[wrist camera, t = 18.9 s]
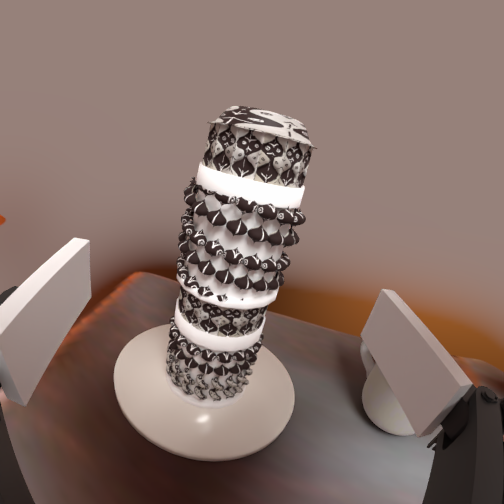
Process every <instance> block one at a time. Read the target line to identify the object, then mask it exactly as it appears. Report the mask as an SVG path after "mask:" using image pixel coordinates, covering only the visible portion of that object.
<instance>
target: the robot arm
mask: <svg viewBox="0 0 504 504" xmlns="http://www.w3.org/2000/svg"><path fill="white" fill-rule="evenodd" d="M90 298H91V284H90V241H89V240H85V239H79V238H73V239H72V240H71V241H70V242H69V243H67V244H66V245H65V246H64V247H63V248H61V249H60V250H59V251H58V252H57V253H56V254H54V255H53V256H52V257H51V258H50V259H49V260H48V261H47V262H46V263H44V264H43V265H42V266H41V267H40V268H39V269H38V270H37V271H35V272H34V274H32V275H31V276H30V277H29V278H28V279H27V280H26V281H25V282H24V283H23V284H22V285H21V286H20V287H16V286H14V287H12V288H10V289H8V290H6V291H4V292H3V293H2V294H1V295H0V388H1V387H2V389H3V391H4V393H5V395H6V397H7V398H8V399H10V400H12V401H14V402H16V403H18V404H21V405H23V406H25V407H26V405H27V403H28V401H29V399H30V397H31V395H32V393H33V391H34V390H35V388H36V386H37V384H38V382H39V380H40V378H41V377H42V375H43V373H44V371H45V370H46V368H47V366H48V364H49V363H50V361H51V359H52V357H53V356H54V354H55V352H56V351H57V349H58V347H59V346H60V344H61V342H62V341H63V339H64V338H65V336H66V334H67V333H68V331H69V330H70V328H71V327H72V325H73V323H74V322H75V320H76V319H77V317H78V316H79V314H80V313H81V311H82V310H83V308H84V307H85V305H86V304H87V302H88V301H89V299H90ZM360 336H361V337H362V339H363V341H364V342H365V344H366V346H367V347H368V349H369V351H370V353H371V354H372V356H373V358H374V359H375V361H376V363H377V365H378V366H379V368H380V370H381V371H382V373H383V375H384V377H385V378H386V380H387V382H388V384H389V386H390V387H391V389H392V391H393V393H394V395H395V396H396V398H397V400H398V402H399V404H400V405H401V407H402V409H403V411H404V413H405V415H406V416H407V418H408V420H409V422H410V424H411V426H412V428H413V430H414V432H415V433H416V435H417V437H421V436H425V435H429V434H431V433H432V432H433V431H434V430H435V429H436V428H437V427H438V426H439V425H440V424H441V425H442V427H443V429H442V430H441V431H440V433H439V434H438V435H437V436H436V437H435V438H434V439H433V440H432V441H431V442H430V443H429V444H428V446H427V448H430V447H431V446H432V445H433V444H434V443H437V444H436V445H435V446H434V447H433V448H432V450H435V455H434V460H433V465H432V469H431V473H430V478H429V482H428V486H427V489H426V493H425V497H424V500H423V503H422V504H504V442H503V435H504V398H503V399H498V397H497V396H496V394H495V393H494V392H493V391H492V390H490V389H489V388H487V387H484V386H479V387H478V388H476V387H475V386H474V385H473V383H472V382H471V381H470V379H469V378H468V377H467V376H466V374H465V373H464V372H463V370H462V369H461V368H460V367H459V365H458V364H457V363H456V362H455V360H454V359H453V358H452V357H451V356H450V354H449V353H448V352H447V351H446V349H445V348H444V347H443V346H442V345H441V344H440V343H439V341H438V340H437V339H436V338H435V336H434V335H433V334H432V333H431V332H430V331H429V329H428V328H427V327H426V326H425V325H424V324H423V323H422V322H421V320H420V319H419V318H418V317H417V316H416V315H415V313H414V312H413V311H412V310H411V309H410V308H409V307H408V306H407V304H406V303H405V302H404V301H403V300H402V299H401V298H400V297H399V296H398V295H397V294H396V292H394V291H393V290H387V289H381V291H380V294H379V296H378V298H377V301H376V303H375V305H374V308H373V310H372V312H371V314H370V317H369V318H368V320H367V322H366V325H365V327H364V329H363V331H362V333H361V335H360ZM0 504H35V503H34V501H33V498H32V496H31V494H30V492H29V490H28V487H27V485H26V482H25V480H24V478H23V475H22V473H21V470H20V467H19V465H18V462H17V459H16V456H15V453H14V450H13V447H12V444H11V441H10V438H9V434H8V431H7V427H6V424H5V420H4V416H3V412H2V407H1V403H0Z"/></svg>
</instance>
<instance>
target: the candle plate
mask: <svg viewBox="0 0 504 504" xmlns="http://www.w3.org/2000/svg"><path fill="white" fill-rule="evenodd" d="M171 326H172V325H171V324H167V325H162V326H158V327H155V328H152V329H150V330H147V331H145V332H143V333H141V334H140V335H138V336H136V337H135V338H134V339H132V340H131V341H130V342H129V343H128V344H127V345H126V346H125V347H124V349H123V350H122V351H121V353H120V355H119V357H118V359H117V361H116V365H115V369H114V385H115V393H116V397H117V401H118V404H119V406H120V408H121V410H122V413H123V414H124V416H125V417H126V419H127V420H128V422H129V423H130V424H131V425H132V426H133V428H134V429H135V430H136V431H137V432H138V433H139V434H141V435H142V436H143V437H144V438H145V439H147V440H148V441H149V442H151V443H153V444H154V445H156V446H157V447H159V448H161V449H163V450H165V451H168V452H170V453H172V454H175V455H178V456H181V457H184V458H188V459H193V460H199V461H215V462H217V461H229V460H234V459H239V458H243V457H246V456H249V455H251V454H254V453H256V452H258V451H260V450H262V449H264V448H265V447H267V446H268V445H269V444H271V443H272V442H273V441H274V440H275V439H276V438H277V437H278V436H279V435H280V434H281V432H282V431H283V429H284V428H285V426H286V424H287V423H288V421H289V419H290V417H291V414H292V412H293V408H294V403H295V393H294V387H293V384H292V381H291V378H290V376H289V374H288V372H287V370H286V369H285V367H284V366H283V364H282V363H281V362H280V361H279V360H278V359H277V357H276V356H275V355H273V354H272V353H271V352H270V351H269V350H268V349H266V348H265V347H264V346H263V345H262V346H261V348H260V349H259V352H258V353H256V354H257V360H256V361H255V365H251V366H250V369H252V370H253V373H252V374H251V375H250V376H248V375H246V379H247V380H248V381H249V384H248V385H247V386H246V388H245V391H244V394H243V396H242V397H241V398H240V399H239V400H238V401H237V402H235V403H234V404H233V405H230V406H227V407H223V408H220V409H208V408H199V407H196V406H194V405H191V404H189V403H186V402H184V401H183V400H182V399H180V398H179V397H178V396H177V395H176V394H174V393H173V392H172V390H171V388H170V386H169V384H168V382H167V380H166V372H167V371H166V366H167V363H166V358H167V354H168V353H167V346H168V343H169V341H170V340H171V339H170V337H169V332H170V327H171Z"/></svg>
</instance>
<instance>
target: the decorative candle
mask: <svg viewBox="0 0 504 504" xmlns="http://www.w3.org/2000/svg"><path fill="white" fill-rule="evenodd" d="M207 123H210V124H211V126H210V132H209V137H208V140H207V143H206V148H205V155H204V158H203V162H200V165H199V170H198V175H197V180H196V181H195V177H192V179H193V180H192V181H190V182H191V184H190V185H189V187H187V188H185V190H184V194H185V197H184V201H185V202H186V203H187V204H188V205H190V206H191V207H189V208H187V209H186V211H185V214H183V216H182V217H181V222H182V223H183V225H182V229H183V232H181V233H180V234H179V241H180V242H179V244H178V248H179V249H180V251H181V256H180V257H179V258H178V259H177V266H178V269H177V279H178V281H179V282H180V284H181V287H180V295H179V297H178V298H177V302H176V310H175V313H174V316H173V317H171V319H170V324H171V325H172V326H171V327H170V332H169V337H170V339H171V340H170V341H169V343H168V346H167V353H168V354H167V358H166V363H167V366H166V371H167V372H166V380H167V382H168V384H169V386H170V388H171V390H172V392H173V393H174V394H176V395H177V396H178V397H179V398H180V399H182V400H183V401H184V402H186V403H189V404H191V405H194V406H196V407H199V408H208V409H220V408H223V407H227V406H230V405H233V404H234V403H235V402H237V401H238V400H239V399H240V398H241V397H242V396H243V394H244V391H245V388H246V386H247V385H248V384H249V381H248V380H247V379H246V375H248V376H250V375H251V374H252V373H253V370H252V369H250V366H251V365H255V361H256V360H257V354H256V353H258V352H259V349H260V348H261V346H262V343H261V341H262V340H263V334H262V329H263V326H264V323H265V320H266V319H265V313H266V310H267V307H268V304H270V303H271V302H273V301H275V299H276V296H277V292H278V289H279V286H282V285H283V284H284V279H283V278H284V276H283V274H282V273H281V271H283V270H285V269H286V268H287V267H288V266H289V265H290V259H289V258H288V256H287V254H285V253H284V252H283V248H284V247H286V246H292V245H294V244H297V243H298V242H299V237H298V235H297V234H296V232H295V231H294V230H293V229H292V226H296V225H300V224H303V223H304V222H305V220H306V218H305V216H304V215H303V214H302V213H301V211H300V210H299V211H298V209H296V208H299V206H300V203H301V199H302V196H303V192H304V189H305V187H304V186H303V183H304V179H305V175H306V173H307V169H308V165H309V161H310V157H311V154H312V150H313V148H315V147H314V146H313V145H311V143H310V141H309V138H308V134H307V131H306V128H305V126H304V125H303V124H302V123H301V122H300V121H298V120H295V119H293V118H291V117H288V116H285V115H281V114H278V113H274V112H271V111H266V110H261V109H257V108H251V107H244V106H233V107H230V108H228V109H227V110H226V111H225V112H223V113H222V115H221V116H220V117H219V118H218V119H217V120H216V121H214V122H207ZM315 149H317V148H315ZM197 192H198V195H197V197H196V194H197ZM190 219H192V221H190ZM290 224H291V228H290V229H289V227H290ZM187 236H190V239H188V240H186V238H187Z"/></svg>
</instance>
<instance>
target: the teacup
mask: <svg viewBox="0 0 504 504" xmlns="http://www.w3.org/2000/svg"><path fill="white" fill-rule="evenodd" d="M360 354H361V358H362V361H363V364H364V367H365V369H366V371H367V380H366V382H365V384H364V387H363V391H362V402H363V406H364V409H365V411H366V413H367V415H368V417H369V418H370V419H371V420H372V422H373V423H374V424H375V425H377V426H378V427H379V428H381V429H382V430H384V431H386V432H388V433H391V434H395V435H401V436H407V435H413V434H416V433H415V432H414V430H413V428H412V426H411V424H410V422H409V420H408V418H407V416H406V415H405V413H404V411H403V409H402V407H401V405H400V404H399V402H398V400H397V398H396V396H395V395H394V393H393V391H392V389H391V387H390V386H389V384H388V382H387V380H386V378H385V377H384V375H383V373H382V371H381V370H380V368H379V366H378V365H377V363H376V364H374V362H373V360H372V357H371V353H370V351H369V349H368V347H367V346H366V344H365V342H364V341H362V343H361V347H360Z"/></svg>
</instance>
